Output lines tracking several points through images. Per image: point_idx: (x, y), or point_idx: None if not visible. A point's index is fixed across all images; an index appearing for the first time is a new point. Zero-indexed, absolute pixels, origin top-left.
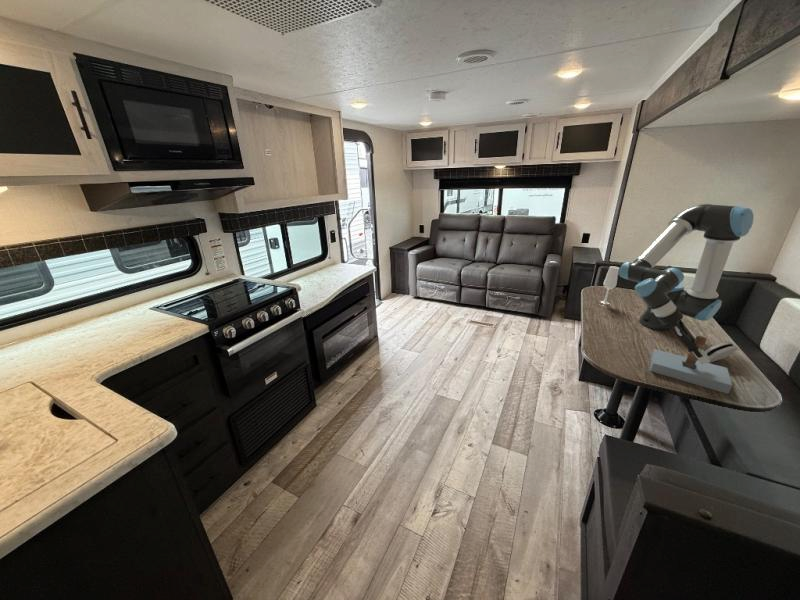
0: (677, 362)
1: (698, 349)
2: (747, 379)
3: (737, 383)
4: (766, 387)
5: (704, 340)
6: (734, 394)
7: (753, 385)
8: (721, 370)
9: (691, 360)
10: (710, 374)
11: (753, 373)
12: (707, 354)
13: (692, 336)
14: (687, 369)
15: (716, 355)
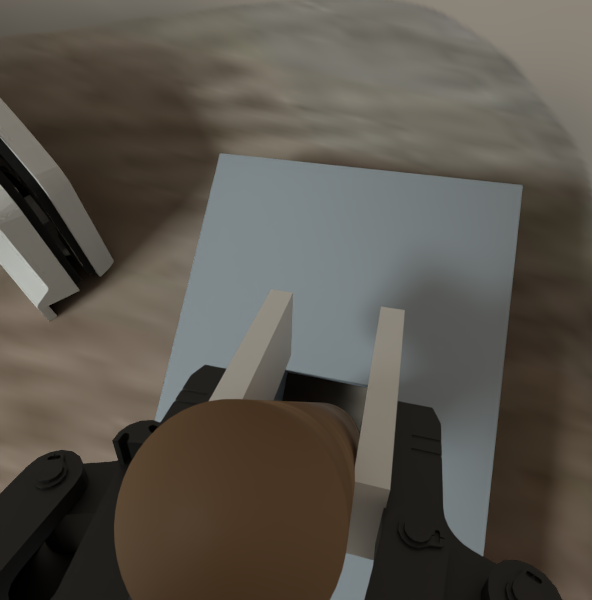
0: None
1: (386, 485)
2: (223, 72)
3: (306, 134)
4: (278, 6)
5: (336, 467)
6: None
7: (287, 60)
8: (285, 200)
9: None
10: (406, 299)
11: (131, 28)
12: (48, 235)
13: (17, 553)
14: None
15: (66, 180)
